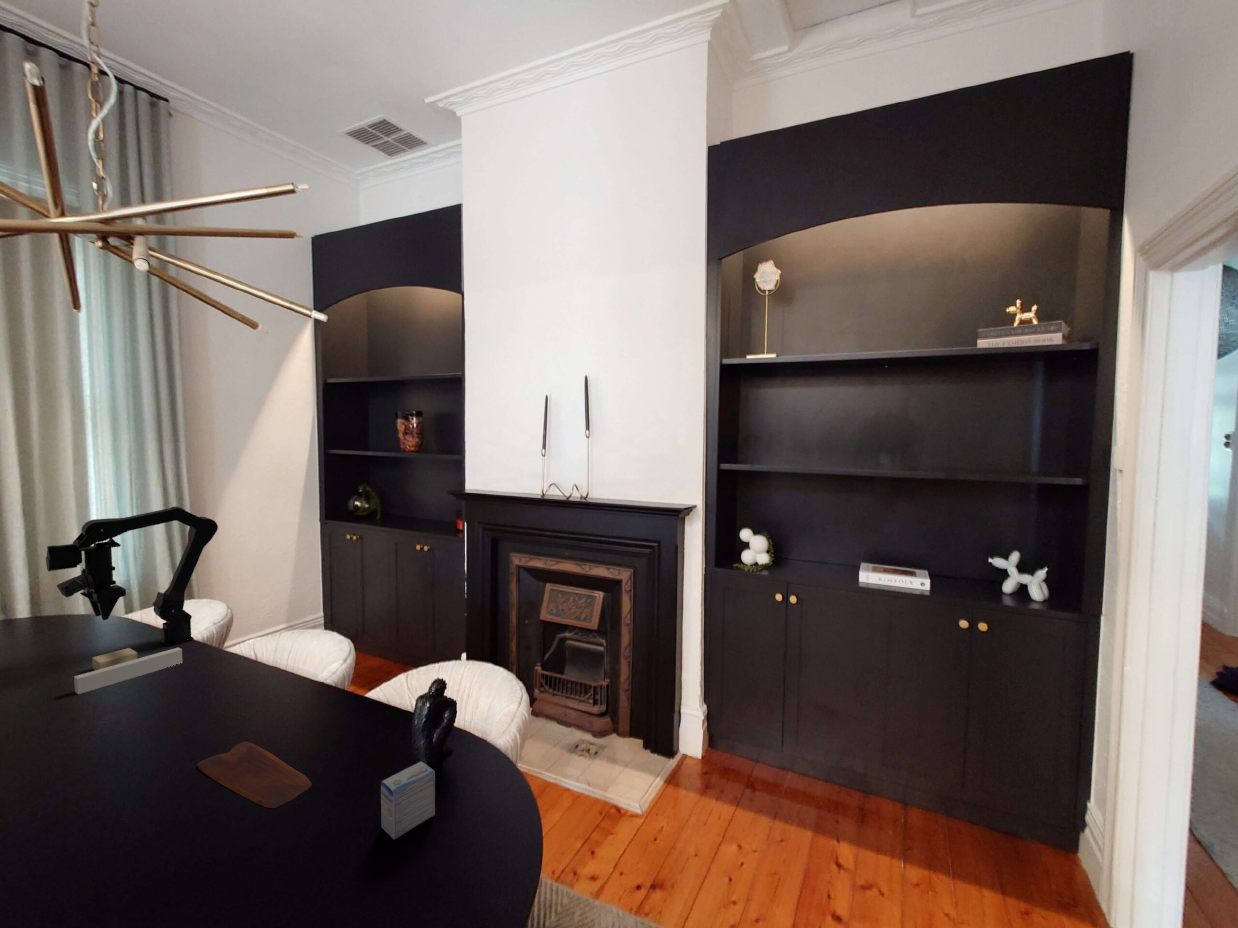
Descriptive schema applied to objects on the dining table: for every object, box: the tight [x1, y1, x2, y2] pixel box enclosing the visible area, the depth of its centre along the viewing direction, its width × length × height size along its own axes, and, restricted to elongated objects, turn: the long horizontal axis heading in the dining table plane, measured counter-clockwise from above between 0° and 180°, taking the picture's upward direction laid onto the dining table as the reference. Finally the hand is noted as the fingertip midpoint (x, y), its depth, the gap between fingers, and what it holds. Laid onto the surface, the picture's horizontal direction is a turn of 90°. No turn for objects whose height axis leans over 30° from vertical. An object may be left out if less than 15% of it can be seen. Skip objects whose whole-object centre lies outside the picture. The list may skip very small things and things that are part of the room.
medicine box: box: [380, 761, 436, 840], centre depth 98 cm, size 8×4×9 cm, turn 141°
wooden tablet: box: [196, 741, 312, 809], centre depth 110 cm, size 27×10×2 cm, turn 60°
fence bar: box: [73, 647, 183, 695], centre depth 150 cm, size 22×2×4 cm, turn 148°
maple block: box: [91, 647, 139, 671], centre depth 156 cm, size 8×6×4 cm
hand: (101, 617), depth 160 cm, fingers open, 5 cm apart
